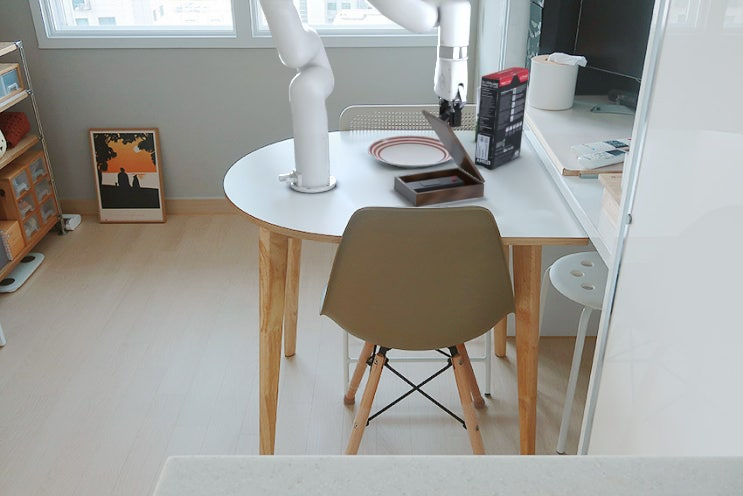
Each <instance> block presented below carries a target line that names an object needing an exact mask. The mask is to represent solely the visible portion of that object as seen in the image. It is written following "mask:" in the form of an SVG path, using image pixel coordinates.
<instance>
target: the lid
mask: <svg viewBox="0 0 743 496" xmlns="http://www.w3.org/2000/svg"><path fill="white" fill-rule="evenodd" d="M450 112H451V110H449V109H447V108H446V109H444V113H442V114H441V115H440V116H439V115H438V116H437V115H434V114H432V113H430V112H429V111H427V110H426V109H422V110H421V113H422V115H423V116H424V117H425V119H426V121H427V122H428V124H429V125H430V127H431V128H432V129H433V132H434V133H435V134H436V136H437V137H438V139H440V140H441V142H442V143H443V145H444V146H445V148H446V149H447V151H448V152H449V154H450V155H451V157H452V160H453V161H454V163H455V165H456V166H457V167H459V168H461V169H462V170H464V171H465V172H467V173H468V174H470V175H471V176H473V177H474V178H476V179H477V180H479V181H480V182H482V183H483V184H485V182H486V180H485V178H484V177H483V175H482V174H481V172H480V171H479V169H478V168H477V165H475V162H474V161H473V159H472V158H471V157H470V154H469V153H468V152H467V150H466V148H465V147H464V145H463V144H462V142H461V141H460V139H459V138H458V137H457V134H456V133H455V131H454V130H453V128H451V127H450V125H449V118H448V119H447V120H446V121H443V120H441V119H442V118H443V117H444V116H445V115H447V116H449V113H450Z"/></svg>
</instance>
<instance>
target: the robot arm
mask: <svg viewBox="0 0 743 496" xmlns="http://www.w3.org/2000/svg"><path fill="white" fill-rule="evenodd" d="M258 1H259V4H260V7H261V9H262V12H263V14H264V17H265V20H266V23H267V26H268V29H269V32H270V35H271V37H272V40H273V43H274V46H275V49H276V52H277V55H278V57H279V59H280V61H281V62H282V63H283V65H284V66H286V67H287V68H291V69H295V70H296V72H297V74H296V76H294V77H293V79H292V80H291V82H290V84H289V87H288V101H289V102H288V103H289V107H290V113H291V118H292V119H291V120H292V121H291V122H292V133H293V150H294V167H295V168H292V171H291V172H289V173H285V174H284V173H283V174H278V181H279V182H280V183H281V182H285V184H290V187H291V189H293V190H294V191H297V192H301V193H307V194H309V193H311V194H312V193H314V194H315V193H322V192H326V191H329V190H332V189H333V188H335V187H336V186H337V181H336V178H334V177H333V176H331V165H330V138H329V119H328V112H327V106H326V100H327V99H328V97H329V96H330V95H331V94H332V93H333V91H334V89H335V77H334V72H333V69H332V66H331V63H330V60H329V57H328V55H327V52H326V49H325V46H324V43H323V41H322V38H321V36H320V34H318V32H317V31H316V30H315V29H313V27H310V26H308V25H304V23H303V21H302V18H301V15H300V11H299V9H298V7H297V4H296V3H295V1H294V0H258ZM363 1H364V2H365V3H366V4H368V5H369V6H370V7H371V8H373V9H374V10H375V11H377V12H378V13H379V14H381V16H384V17H385V18H386V19H388V20H390V21H391V22H393V23H394V24H396V25H398V26H400V27H401V28H403V29H405V30H406V31H408V32H411V33H413V34H415V35H416V34H417V35H423V34H427V33H428V32H430V31H431V30H432V29H434V28H438V41H437V43H438V44H437V59H436V65H435V66H436V67H435V71H434V72H435V73H434V85H433V86H434V87H433V92H434V94H435V95H436V96H437V97H438V106H439V109H438V110H439V111H438V117H439V116H440V115H441V114H442V113H444V109H446V108H447V109H449V110H451V112H450V113H449V116H447V115H445V116H444V117H443V118H442V119H441V120H443V121H446V120H447V119H448V118H449V123H448V124H449V125H450V127H451V128H452V129H453V128H460V127H461V126H462V116H463V114H462V113H463V111H464V107H465V105H466V104H467V95H468V60H469V48H470V31H471V30H470V29H471V12H472V5H471V3H470V1H469V0H363Z"/></svg>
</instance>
